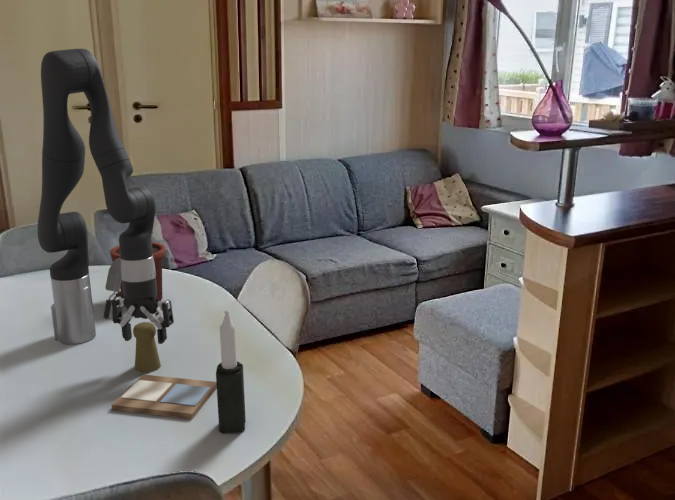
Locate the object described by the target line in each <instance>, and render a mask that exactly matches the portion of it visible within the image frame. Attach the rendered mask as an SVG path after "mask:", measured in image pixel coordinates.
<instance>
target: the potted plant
mask: <svg viewBox="0 0 675 500" xmlns="http://www.w3.org/2000/svg"><path fill="white" fill-rule="evenodd" d="M166 248H167V247H166V246H165V244H162V243H160V242H156V241H155V242H153V241H152V252H153V259H154V263H155V270H156V283H157V298H158V300H159V301H163V260H164V259H165V258H166V251H167V250H166ZM109 254H110V258H111V261H112V262H111V265H110V267H109V268H108V272H107V275H106V276H107V278H106V282H105V286H104V287H105V290H106V291H109V292H113V293H112V294H111V295H109V297H108V299H106V301H105V305H104V311H103V316H102V317H103V319H109V317H110V312H111V309H112V300H113V299H115V298H116V297H118V296H120V297H121V298H125V297H124V295H123V286H122V277H121V255H120V246H119V245H117V246H115V247H113V248H111V249H110V250H109ZM112 297H114V298H113V299H112Z"/></svg>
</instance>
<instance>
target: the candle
mask: <svg viewBox="0 0 675 500" xmlns="http://www.w3.org/2000/svg"><path fill="white" fill-rule="evenodd" d="M229 314H230V312H229V310H228V309H226V310H225V311H224V317H223V320H222V323H221V325H220V327H219V337H220V338H219V339H220V354H221V355H220V356H221V359H220V360H221V362H220V363H219V364H217V366H216V372H215V380H216V381H215V382H216V385H217V389H216V398H217V399H216V400H217V415H218V419H217V420H218V431H219V433H221V434H241V433H243V432H244V431H245V430H246V424H245V423H246V422H247V421H246V403H245V402H246V401H245V397H246V396H245V381H244V380H245V379H244V378H245V377H244V375H245V374H244V365H243V363H241V362H239V361H237V342H236V340H237V339H236V335H237V334H236V325H235V324H234V322H233V321H232V319H231V316H230V315H229Z"/></svg>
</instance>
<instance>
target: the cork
mask: <svg viewBox="0 0 675 500" xmlns="http://www.w3.org/2000/svg"><path fill="white" fill-rule="evenodd" d="M132 333H133V334H132V335H133V336H134V338H135V354H134V355H135V359H134V370H135V371H136V372H138V373H145V374H146V373H152V372H155V371H157V370H159V369H160V368H161V367H162V364H161V361H160V354H159V351H158V347H157V343H156V338H155V336H156V334H157V327H156V325H155V324H154V323H152V322H151V321H143V322H139V323H137V324H135V325H134V327H133V329H132Z"/></svg>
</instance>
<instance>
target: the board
mask: <svg viewBox="0 0 675 500" xmlns="http://www.w3.org/2000/svg"><path fill="white" fill-rule="evenodd" d="M215 391H217V385H216V381H212V380H202V379H191V378H181V377H180V378H179V377H172V376H162V375H153V374H142V375H141V376H140V377H139V378H138V379H137V380H135V382H133V384H132V385H131V386H129V388H127V389H126V390H125V391H124V392H123V393H122V394H121V395H120V396H119V397H118V398H117V399H116V400H115V401H114V402H113V403H112V404H111V410H112V411H119V412H129V413H137V414H144V415H145V414H147V415H155V416H156V415H157V416H164V417H172V418H181V419H188V420H189V419H191V420H193V419H194V418H195V417H196V415H197V414H198V413H199V411H200V410H201V409H202V408H203V406H205V404H206V403H207V401H208V400H209V399H210V397H212V395H213V394H214V392H215Z"/></svg>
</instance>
